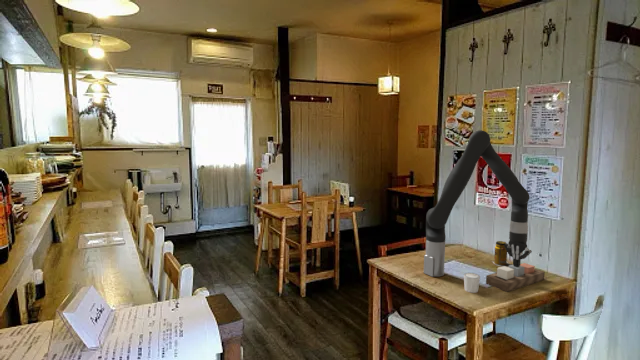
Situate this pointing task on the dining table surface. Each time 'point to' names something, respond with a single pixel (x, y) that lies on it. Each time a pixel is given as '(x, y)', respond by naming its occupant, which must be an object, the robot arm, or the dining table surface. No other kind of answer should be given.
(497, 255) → the condiment
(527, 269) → the terracotta key
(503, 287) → the brown wooden tray
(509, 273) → the cream block
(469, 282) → the white cup
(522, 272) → the slate key
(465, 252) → the dining table surface
